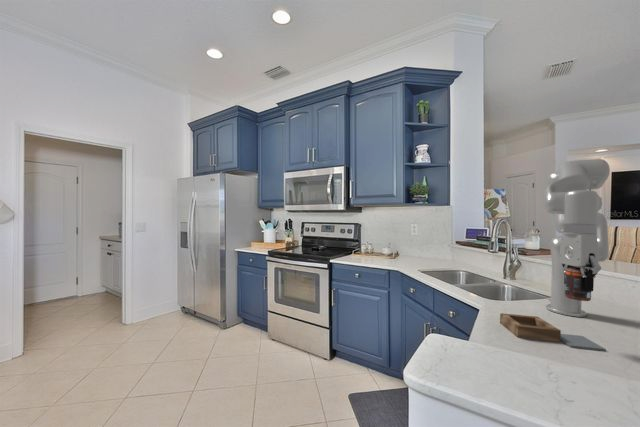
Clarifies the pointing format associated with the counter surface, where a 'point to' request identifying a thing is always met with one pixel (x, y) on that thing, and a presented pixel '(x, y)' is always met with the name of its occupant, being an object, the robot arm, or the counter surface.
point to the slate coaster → (580, 342)
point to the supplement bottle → (575, 285)
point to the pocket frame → (530, 327)
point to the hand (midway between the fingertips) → (578, 287)
